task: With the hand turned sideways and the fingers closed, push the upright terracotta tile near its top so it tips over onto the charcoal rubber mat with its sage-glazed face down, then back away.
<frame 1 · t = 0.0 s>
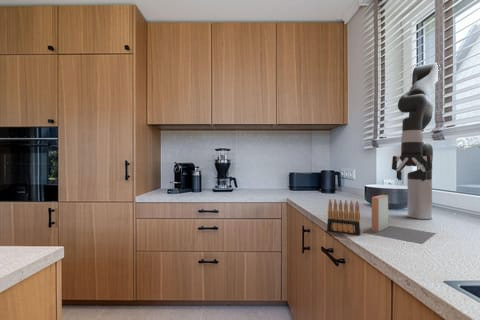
hand: (411, 180, 113), 17 cm above the table, tool pointing down, fingers open, 8 cm apart
ammunition clip: (343, 235, 93), on the table
tile: (380, 229, 98), point 1 cm above the table, touching mat
mat: (398, 234, 94), on the table
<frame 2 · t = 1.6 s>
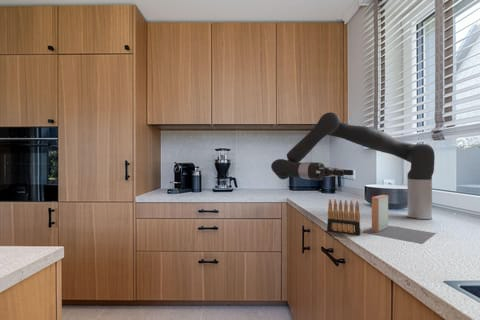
hand: (348, 172, 106), 21 cm above the table, tool horizontal, fingers open, 8 cm apart
nothing on the table moved.
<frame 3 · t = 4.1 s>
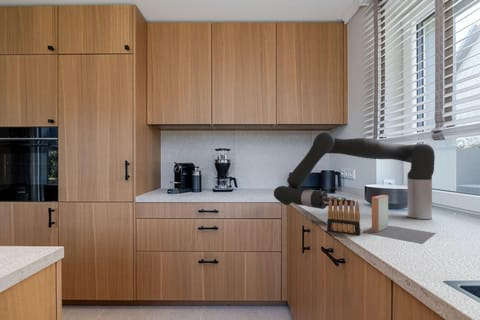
hand: (354, 203, 105), 9 cm above the table, tool horizontal, fingers closed
nothing on the table moved.
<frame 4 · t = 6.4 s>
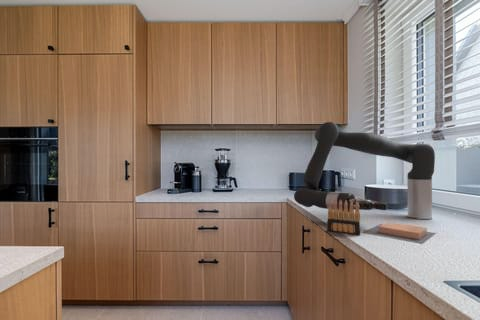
hand: (386, 207, 96), 9 cm above the table, tool horizontal, fingers closed
tile: (383, 226, 97), point 2 cm above the table, tilted 90°, touching mat
everything else where it was.
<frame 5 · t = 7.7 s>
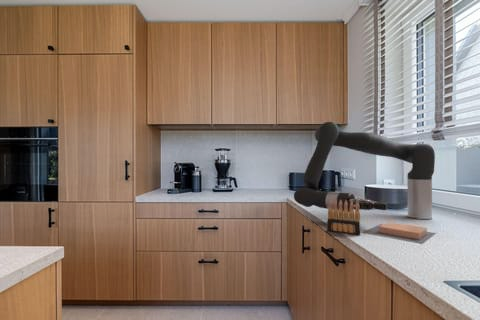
hand: (386, 207, 96), 9 cm above the table, tool horizontal, fingers closed
nothing on the table moved.
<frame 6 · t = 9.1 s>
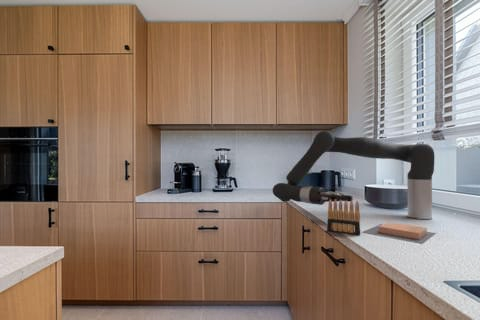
hand: (351, 198, 107), 11 cm above the table, tool horizontal, fingers closed
nothing on the table moved.
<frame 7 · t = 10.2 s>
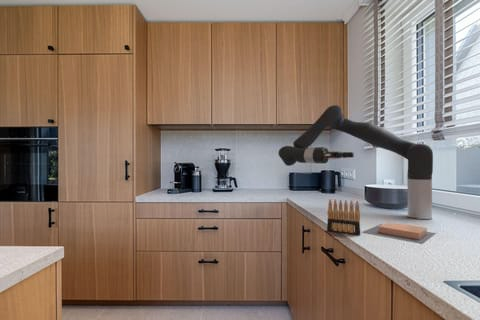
hand: (352, 154, 114), 28 cm above the table, tool horizontal, fingers closed
nothing on the table moved.
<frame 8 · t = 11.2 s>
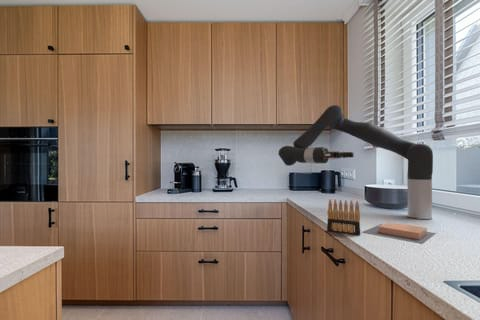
hand: (352, 154, 115), 28 cm above the table, tool horizontal, fingers closed
nothing on the table moved.
at the end: tile tilted 90°; tile inside the target area on the mat (4.8 cm from its centre), point 1.7 cm above the mat's base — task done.
